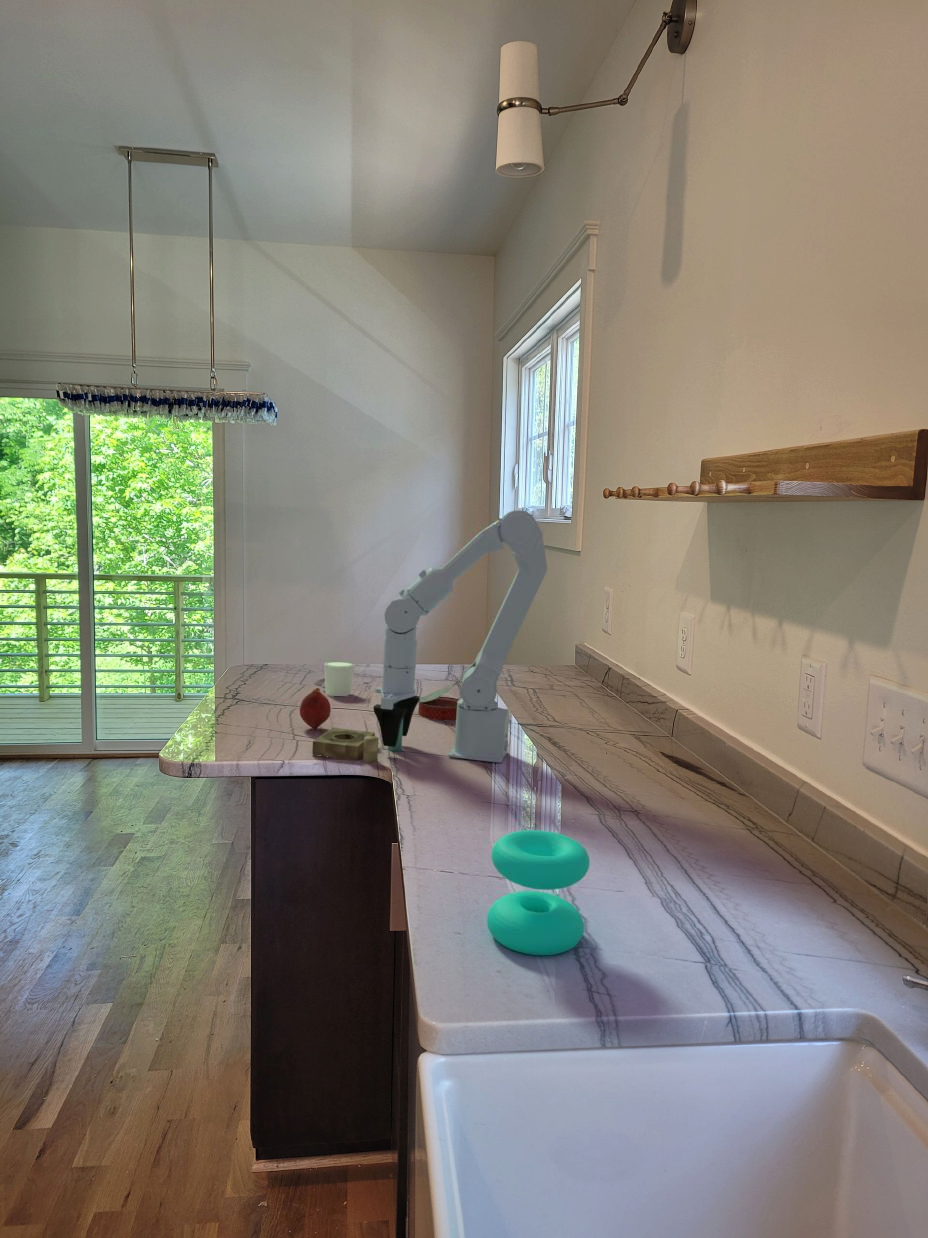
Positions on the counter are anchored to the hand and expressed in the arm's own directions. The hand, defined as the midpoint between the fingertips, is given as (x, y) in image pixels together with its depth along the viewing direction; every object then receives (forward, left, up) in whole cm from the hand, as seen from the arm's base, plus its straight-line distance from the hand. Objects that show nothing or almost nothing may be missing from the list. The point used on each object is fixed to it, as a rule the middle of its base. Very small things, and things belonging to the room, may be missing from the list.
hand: (395, 740), depth 156 cm
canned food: (-2, -30, -2) cm, 30 cm away
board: (+8, +4, -2) cm, 9 cm away
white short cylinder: (+24, -38, -2) cm, 45 cm away
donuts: (-32, +62, -2) cm, 69 cm away
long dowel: (0, 0, -2) cm, 2 cm away
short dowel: (+2, +8, -2) cm, 9 cm away
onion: (+18, -8, -2) cm, 20 cm away
